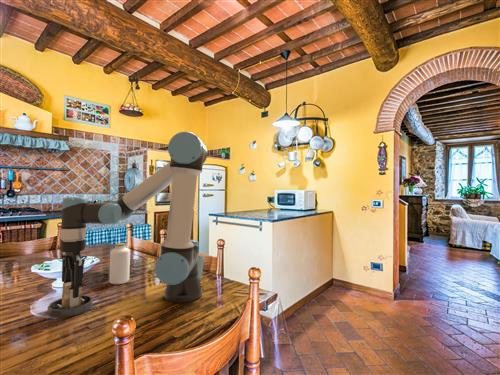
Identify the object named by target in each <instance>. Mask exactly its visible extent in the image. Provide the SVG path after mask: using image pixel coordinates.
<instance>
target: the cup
mask: <svg viewBox="0 0 500 375" xmlns="http://www.w3.org/2000/svg"><path fill="white" fill-rule="evenodd" d="M204 261H205V257H204V256H202V255H199V260H198V277H199V280H201V279H202V277H203V270H204Z"/></svg>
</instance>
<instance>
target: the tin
mask: <svg viewBox="0 0 500 375" xmlns="http://www.w3.org/2000/svg"><path fill="white" fill-rule="evenodd" d="M93 301H94V297H93V296H91V295H88V294H87V295H86V294H84V295H83V294H81V306H79V307H76V308H71V309H64V310H63V306H62V298H58V299H57V300H54V301H53V302H51V303H50V304H49V305H48V306H47V314H48V316H49V317H52V318H68V317H73V316H77V315H80V314H83V313H85V312H87V311H89V310H90V309H91V308H92V306H93V303H94V302H93Z"/></svg>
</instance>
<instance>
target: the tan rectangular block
mask: <svg viewBox="0 0 500 375" xmlns="http://www.w3.org/2000/svg"><path fill="white" fill-rule="evenodd" d="M82 287H83V286H82ZM82 287H79V305H78V306H75V307H72V308H76V307H79V306H81V295H82V293H83V292H82V290H83V289H82ZM69 288H71V282H68V283H64V282H62V290H61V291H62V294H61V299H62V306H63V310H64V309H71V308H70V307H69V304H70V290H69Z"/></svg>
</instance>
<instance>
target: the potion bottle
mask: <svg viewBox="0 0 500 375" xmlns="http://www.w3.org/2000/svg"><path fill="white" fill-rule="evenodd" d="M109 255H110V256H109V258H110V259H109V260H110V261H109V283H110V284H112V285H123V284H125V283H127V282H129V281H130V266H131V265H130V264H131V262H130V260H131V251H130V249H129V248H128V247H126V243H125V242H118V243H115V248H113V249H112V250H110V254H109Z"/></svg>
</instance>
